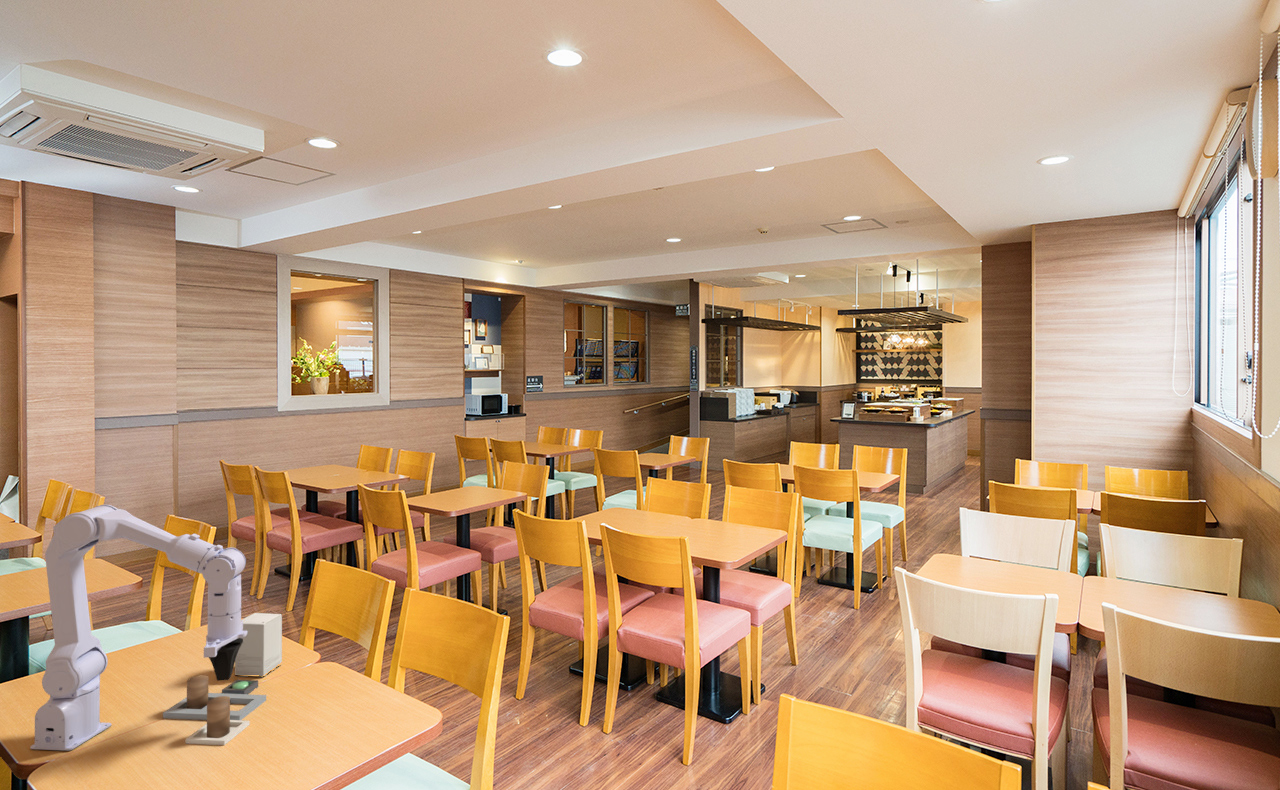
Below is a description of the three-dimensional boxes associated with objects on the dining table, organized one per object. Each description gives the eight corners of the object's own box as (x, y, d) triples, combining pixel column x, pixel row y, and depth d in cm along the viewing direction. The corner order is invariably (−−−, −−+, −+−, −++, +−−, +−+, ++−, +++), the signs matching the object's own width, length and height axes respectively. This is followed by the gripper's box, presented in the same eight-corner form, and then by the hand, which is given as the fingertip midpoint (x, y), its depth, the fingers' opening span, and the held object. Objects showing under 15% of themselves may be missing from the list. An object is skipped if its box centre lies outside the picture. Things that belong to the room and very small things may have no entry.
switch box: (244, 698, 146) (244, 690, 146) (221, 697, 147) (221, 689, 147) (258, 688, 151) (258, 680, 151) (236, 687, 152) (236, 679, 152)
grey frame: (239, 723, 136) (239, 715, 136) (162, 719, 137) (163, 712, 137) (266, 702, 145) (266, 695, 145) (194, 699, 146) (194, 692, 146)
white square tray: (224, 747, 127) (224, 740, 127) (185, 745, 128) (185, 739, 128) (249, 726, 135) (249, 720, 135) (212, 725, 135) (212, 719, 135)
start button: (242, 695, 147) (242, 687, 147) (229, 695, 148) (229, 687, 148) (251, 689, 150) (251, 681, 150) (238, 689, 151) (238, 681, 150)
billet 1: (200, 714, 139) (200, 683, 139) (182, 714, 139) (182, 682, 139) (212, 706, 143) (212, 675, 143) (195, 705, 143) (195, 675, 143)
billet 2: (221, 739, 129) (221, 705, 129) (202, 738, 129) (202, 704, 129) (234, 729, 133) (234, 696, 133) (215, 728, 133) (215, 695, 133)
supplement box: (283, 665, 164) (283, 613, 164) (263, 678, 157) (263, 624, 156) (254, 663, 165) (255, 611, 164) (233, 676, 157) (233, 622, 157)
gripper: (232, 623, 128) (232, 693, 129) (258, 598, 143) (258, 662, 143) (191, 625, 127) (191, 696, 127) (222, 600, 141) (221, 665, 141)
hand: (224, 679), depth 135 cm, fingers closed
